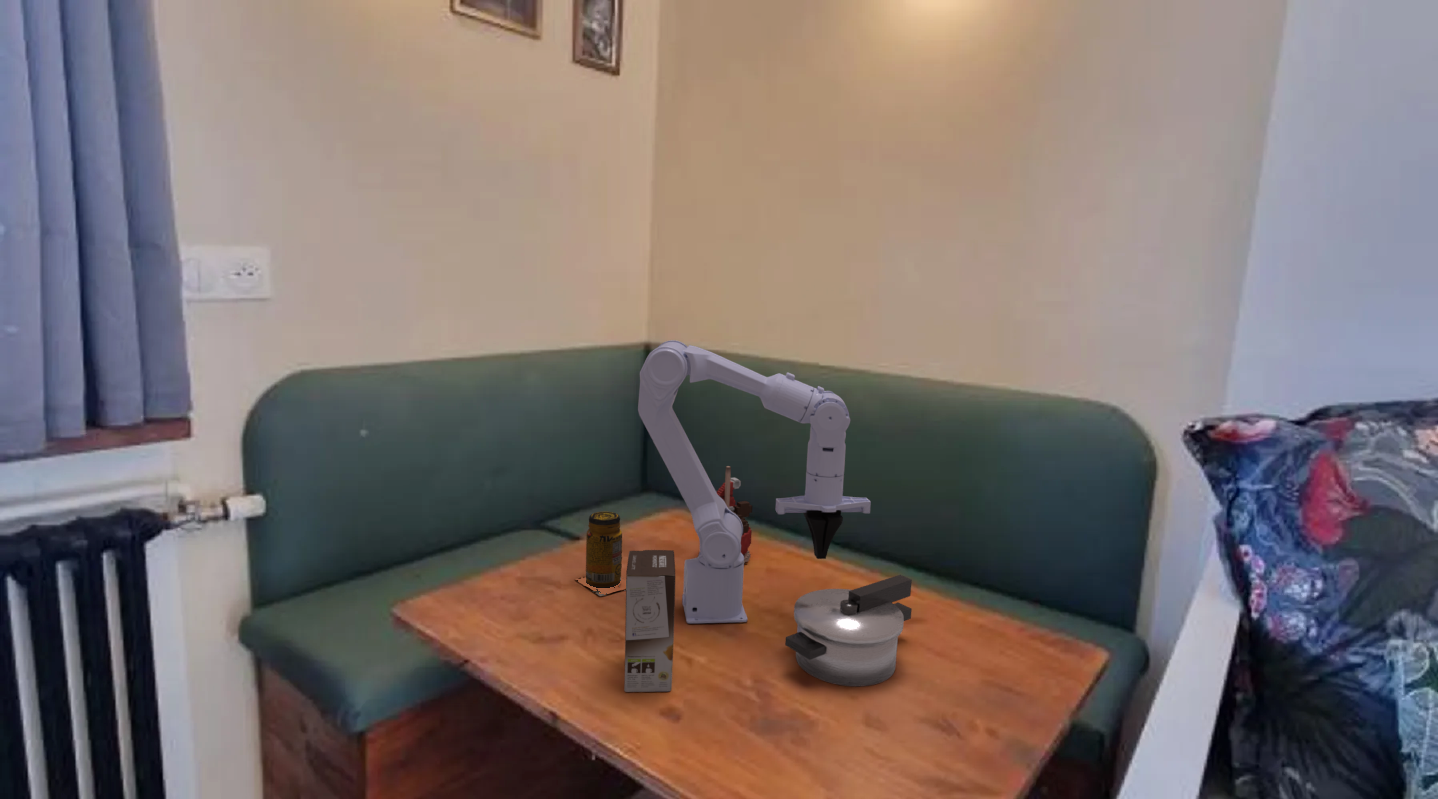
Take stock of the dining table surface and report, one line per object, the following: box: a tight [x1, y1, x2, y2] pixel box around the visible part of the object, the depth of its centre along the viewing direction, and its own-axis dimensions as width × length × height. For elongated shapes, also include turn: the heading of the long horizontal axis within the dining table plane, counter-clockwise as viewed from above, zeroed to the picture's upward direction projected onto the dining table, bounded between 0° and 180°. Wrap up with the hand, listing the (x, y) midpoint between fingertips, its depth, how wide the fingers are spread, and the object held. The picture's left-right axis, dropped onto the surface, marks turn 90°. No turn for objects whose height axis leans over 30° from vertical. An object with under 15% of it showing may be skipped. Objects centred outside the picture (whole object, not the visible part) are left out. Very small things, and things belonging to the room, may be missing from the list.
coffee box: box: [623, 549, 676, 693], centre depth 105 cm, size 9×6×16 cm
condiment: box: [585, 510, 623, 597], centre depth 134 cm, size 7×8×12 cm
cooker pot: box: [784, 601, 913, 687], centre depth 113 cm, size 22×14×6 cm, turn 128°
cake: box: [716, 465, 753, 565], centre depth 146 cm, size 11×9×18 cm
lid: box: [793, 574, 913, 646], centre depth 112 cm, size 20×15×4 cm
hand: (820, 556), depth 123 cm, fingers closed
